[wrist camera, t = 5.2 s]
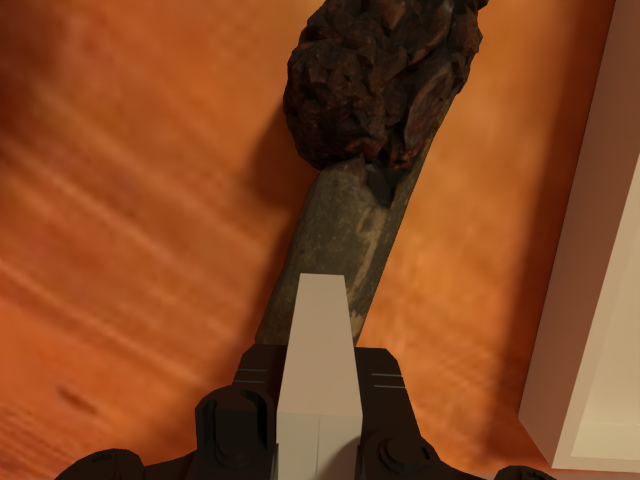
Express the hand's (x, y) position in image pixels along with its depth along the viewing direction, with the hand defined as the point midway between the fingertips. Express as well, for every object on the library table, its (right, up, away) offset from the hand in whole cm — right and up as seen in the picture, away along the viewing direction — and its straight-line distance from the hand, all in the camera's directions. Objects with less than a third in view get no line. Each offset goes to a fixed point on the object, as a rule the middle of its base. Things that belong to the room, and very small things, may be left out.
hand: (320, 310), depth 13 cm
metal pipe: (0, +2, +9) cm, 10 cm away
